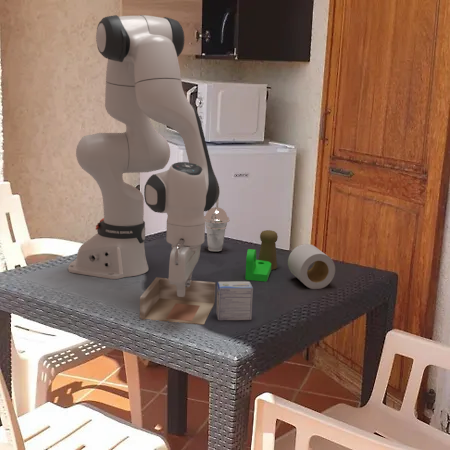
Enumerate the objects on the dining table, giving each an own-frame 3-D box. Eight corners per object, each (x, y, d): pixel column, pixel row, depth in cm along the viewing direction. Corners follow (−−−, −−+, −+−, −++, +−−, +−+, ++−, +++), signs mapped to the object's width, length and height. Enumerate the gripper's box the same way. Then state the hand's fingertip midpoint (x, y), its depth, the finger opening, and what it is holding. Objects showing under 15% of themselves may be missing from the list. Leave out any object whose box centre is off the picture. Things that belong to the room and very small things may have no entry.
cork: (255, 268, 196) (257, 232, 194) (258, 262, 202) (260, 227, 200) (276, 270, 195) (278, 234, 193) (278, 264, 201) (280, 229, 199)
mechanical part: (266, 281, 185) (268, 254, 183) (245, 279, 186) (246, 252, 184) (272, 267, 196) (273, 241, 194) (252, 265, 197) (253, 239, 195)
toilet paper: (286, 278, 189) (289, 244, 187) (319, 277, 191) (322, 243, 189) (299, 290, 180) (301, 254, 177) (333, 288, 182) (336, 253, 180)
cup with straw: (200, 252, 211) (203, 190, 206) (202, 244, 219) (205, 185, 215) (227, 253, 210) (230, 191, 206) (228, 246, 219) (231, 186, 214)
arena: (139, 321, 154) (140, 297, 152) (155, 299, 168) (156, 277, 167) (203, 327, 152) (204, 303, 150) (214, 304, 166) (215, 282, 165)
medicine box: (248, 315, 160) (250, 280, 158) (251, 322, 156) (253, 287, 154) (215, 315, 159) (217, 281, 157) (218, 322, 155) (219, 287, 153)
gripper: (191, 246, 143) (189, 307, 146) (205, 224, 163) (203, 278, 166) (162, 244, 144) (161, 305, 147) (180, 223, 163) (179, 276, 167)
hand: (184, 290), depth 157 cm, fingers open, 5 cm apart
